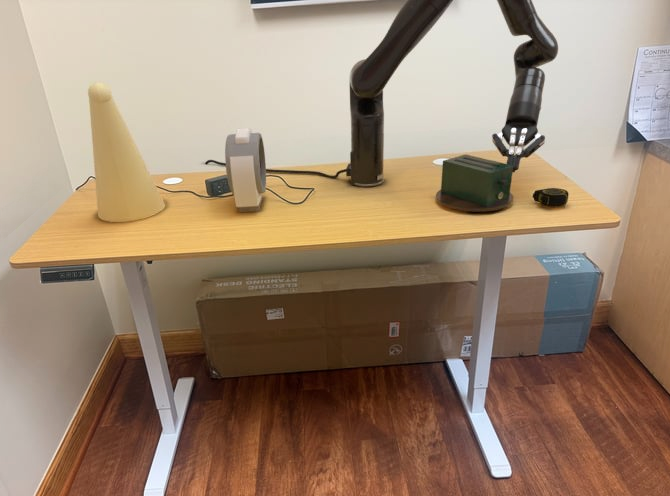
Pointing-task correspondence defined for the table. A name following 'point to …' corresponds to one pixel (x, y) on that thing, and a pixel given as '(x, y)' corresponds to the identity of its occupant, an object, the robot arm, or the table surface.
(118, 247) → the table surface
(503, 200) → the toaster
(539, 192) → the tape measure
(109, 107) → the cone light
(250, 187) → the alarm clock
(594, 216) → the table surface
